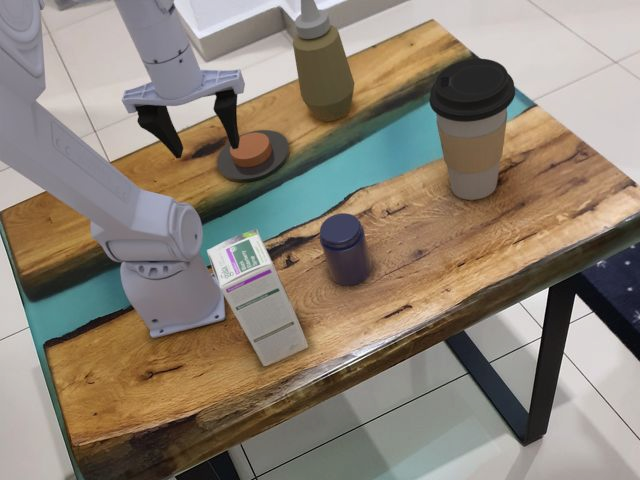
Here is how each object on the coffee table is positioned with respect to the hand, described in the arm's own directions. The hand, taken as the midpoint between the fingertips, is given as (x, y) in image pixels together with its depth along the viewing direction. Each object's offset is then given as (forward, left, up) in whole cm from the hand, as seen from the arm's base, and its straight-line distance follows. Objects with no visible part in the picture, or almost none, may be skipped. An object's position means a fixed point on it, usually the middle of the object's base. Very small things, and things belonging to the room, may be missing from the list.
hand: (207, 148), depth 83 cm
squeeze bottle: (+17, +15, -10) cm, 25 cm away
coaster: (+4, +9, -9) cm, 14 cm away
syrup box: (+4, -26, -10) cm, 28 cm away
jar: (+14, -18, -9) cm, 25 cm away
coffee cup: (+32, -9, -10) cm, 35 cm away
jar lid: (+4, +9, -8) cm, 12 cm away
